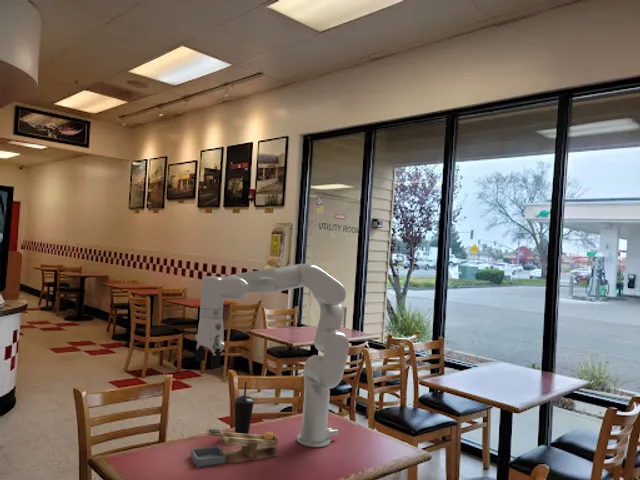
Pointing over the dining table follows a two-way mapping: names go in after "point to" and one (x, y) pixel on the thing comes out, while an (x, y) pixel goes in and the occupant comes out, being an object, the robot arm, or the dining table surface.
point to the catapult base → (250, 453)
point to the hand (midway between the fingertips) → (207, 364)
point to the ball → (268, 436)
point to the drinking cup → (243, 412)
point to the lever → (244, 439)
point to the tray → (208, 456)
